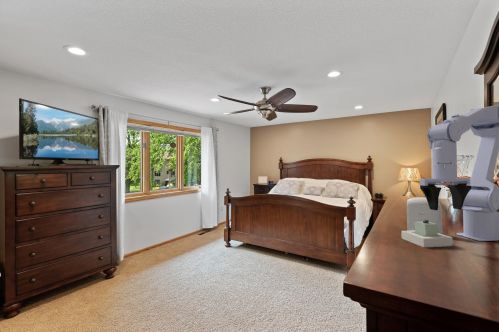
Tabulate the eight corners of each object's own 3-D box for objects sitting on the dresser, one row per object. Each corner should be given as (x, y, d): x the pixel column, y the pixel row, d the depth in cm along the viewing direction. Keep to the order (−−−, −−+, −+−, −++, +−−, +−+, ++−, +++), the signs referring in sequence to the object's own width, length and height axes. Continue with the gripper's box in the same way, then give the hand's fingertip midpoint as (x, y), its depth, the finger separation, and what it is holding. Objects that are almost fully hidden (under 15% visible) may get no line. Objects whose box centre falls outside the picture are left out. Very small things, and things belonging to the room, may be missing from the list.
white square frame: (427, 237, 80) (427, 229, 80) (452, 246, 71) (452, 237, 71) (401, 238, 79) (401, 230, 79) (423, 247, 70) (423, 238, 70)
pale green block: (427, 240, 77) (426, 218, 77) (437, 244, 73) (437, 221, 73) (415, 240, 77) (414, 219, 77) (425, 244, 73) (425, 221, 73)
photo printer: (405, 231, 88) (404, 196, 88) (409, 229, 91) (408, 196, 91) (440, 236, 80) (439, 199, 80) (444, 234, 83) (443, 198, 83)
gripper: (454, 163, 77) (455, 206, 77) (411, 164, 76) (412, 207, 76) (477, 163, 70) (478, 210, 70) (430, 163, 69) (431, 211, 69)
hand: (445, 209), depth 72 cm, fingers open, 7 cm apart
